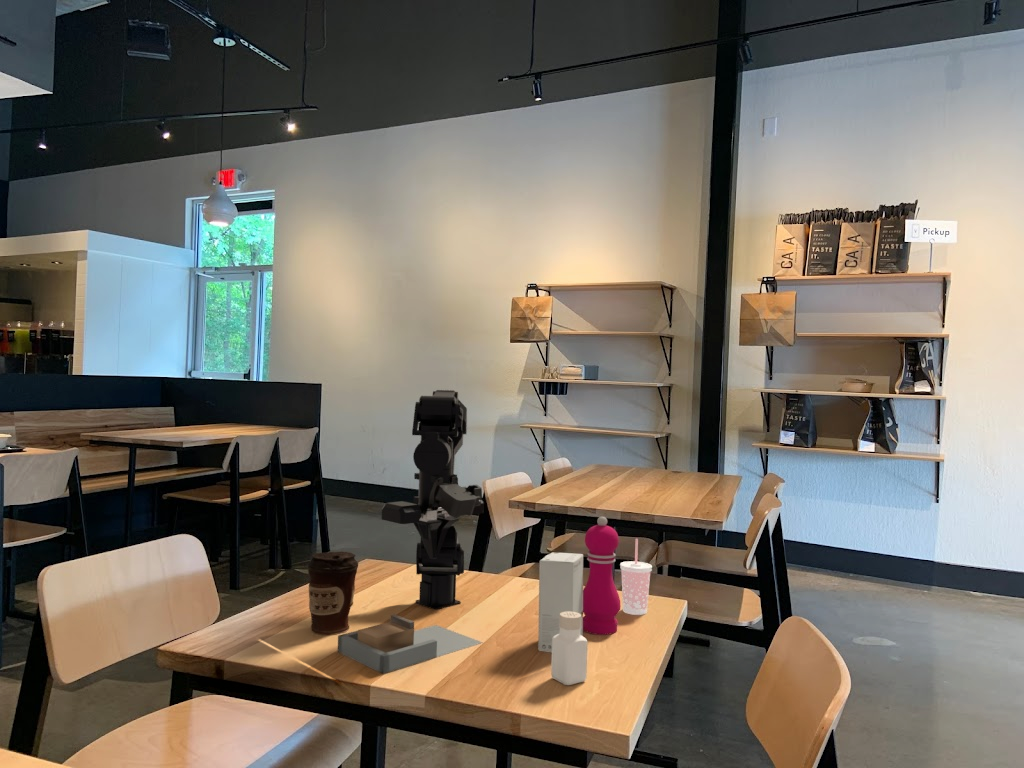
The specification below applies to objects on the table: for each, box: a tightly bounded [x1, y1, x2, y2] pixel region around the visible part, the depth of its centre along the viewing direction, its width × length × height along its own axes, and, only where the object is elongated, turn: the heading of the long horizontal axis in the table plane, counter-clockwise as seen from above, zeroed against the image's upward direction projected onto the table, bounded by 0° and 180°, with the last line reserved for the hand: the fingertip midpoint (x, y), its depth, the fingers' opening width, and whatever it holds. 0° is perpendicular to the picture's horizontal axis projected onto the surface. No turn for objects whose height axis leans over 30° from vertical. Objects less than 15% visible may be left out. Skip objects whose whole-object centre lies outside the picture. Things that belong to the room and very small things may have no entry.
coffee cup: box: [307, 551, 359, 636], centre depth 124 cm, size 9×8×13 cm
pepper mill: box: [583, 516, 621, 636], centre depth 129 cm, size 7×7×20 cm
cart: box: [357, 614, 415, 653], centre depth 113 cm, size 7×5×5 cm
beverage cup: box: [619, 538, 653, 616], centre depth 141 cm, size 6×6×14 cm
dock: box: [337, 624, 484, 675], centre depth 116 cm, size 20×12×3 cm, turn 136°
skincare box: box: [537, 551, 584, 653], centre depth 120 cm, size 8×6×15 cm
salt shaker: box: [550, 611, 589, 686], centre depth 106 cm, size 4×4×10 cm
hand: (433, 558), depth 126 cm, fingers closed
